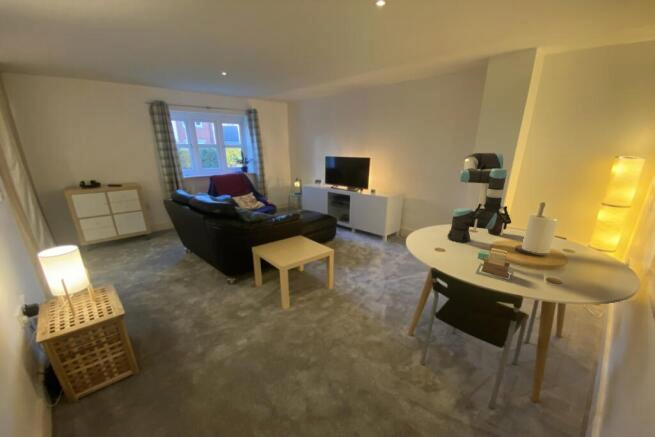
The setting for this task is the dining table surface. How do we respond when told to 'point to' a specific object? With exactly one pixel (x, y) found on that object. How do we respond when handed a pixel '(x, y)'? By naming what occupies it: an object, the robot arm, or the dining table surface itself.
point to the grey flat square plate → (508, 279)
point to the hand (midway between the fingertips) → (487, 232)
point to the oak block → (497, 257)
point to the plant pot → (497, 225)
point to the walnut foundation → (495, 268)
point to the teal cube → (483, 254)
